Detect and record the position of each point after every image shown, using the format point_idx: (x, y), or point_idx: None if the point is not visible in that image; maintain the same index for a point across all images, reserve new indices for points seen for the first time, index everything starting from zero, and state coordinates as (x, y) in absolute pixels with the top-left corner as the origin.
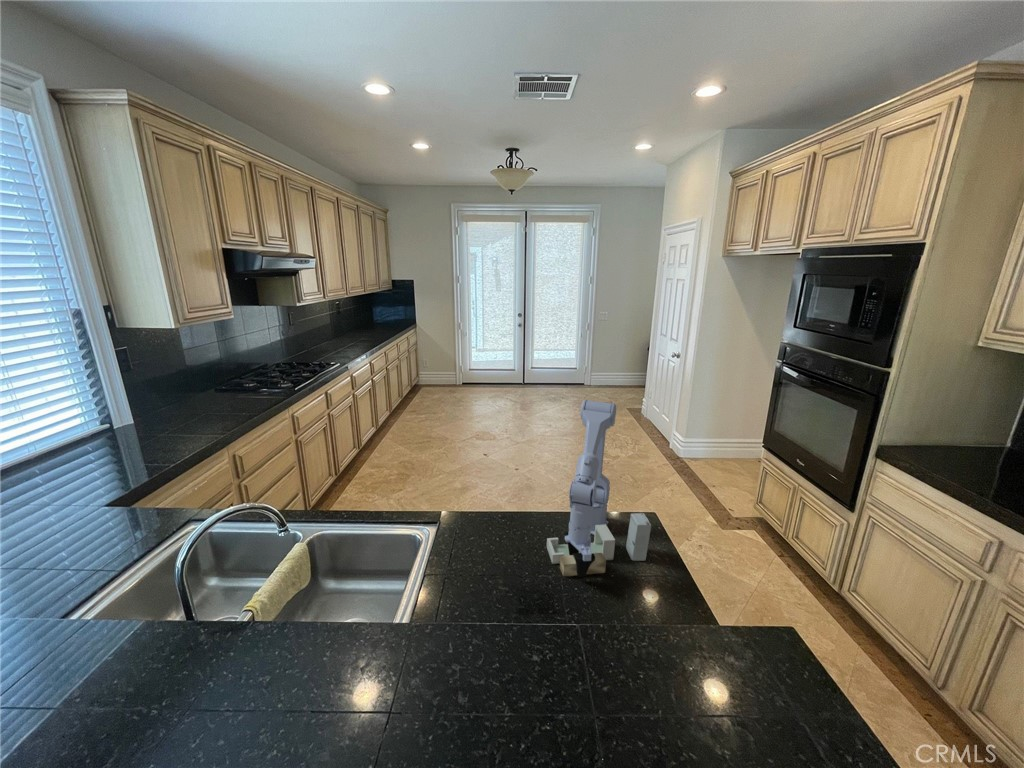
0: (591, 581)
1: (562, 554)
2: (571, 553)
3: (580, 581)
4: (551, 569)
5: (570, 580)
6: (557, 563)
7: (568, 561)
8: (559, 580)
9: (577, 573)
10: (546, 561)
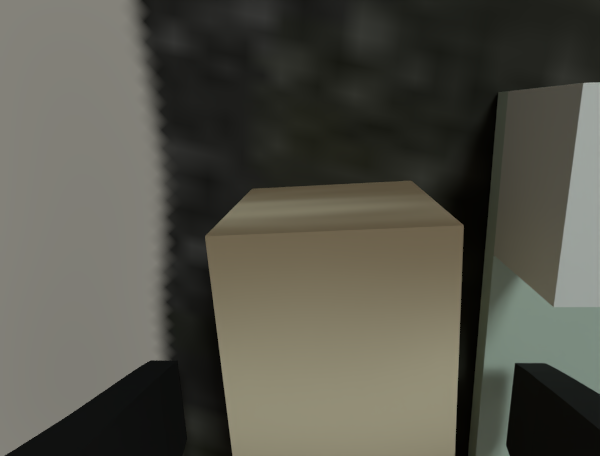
0: None
1: (556, 275)
2: (549, 421)
3: (173, 352)
4: (393, 58)
5: (187, 255)
6: (493, 167)
7: (292, 336)
8: (187, 126)
9: (118, 381)
10: (571, 13)
